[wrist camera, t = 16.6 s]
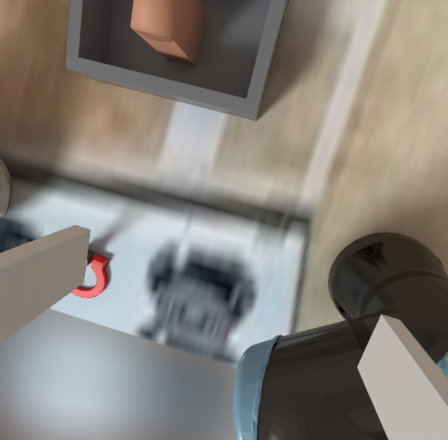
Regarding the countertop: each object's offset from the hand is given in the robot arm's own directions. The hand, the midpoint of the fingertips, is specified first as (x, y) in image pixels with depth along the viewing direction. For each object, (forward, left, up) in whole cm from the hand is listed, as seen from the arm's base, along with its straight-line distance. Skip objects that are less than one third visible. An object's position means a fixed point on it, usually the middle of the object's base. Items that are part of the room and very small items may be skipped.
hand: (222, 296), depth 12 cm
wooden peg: (+13, -17, -29) cm, 36 cm away
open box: (+13, -17, -30) cm, 36 cm away
